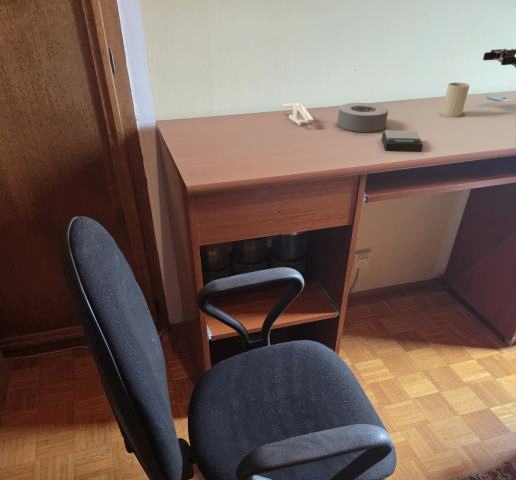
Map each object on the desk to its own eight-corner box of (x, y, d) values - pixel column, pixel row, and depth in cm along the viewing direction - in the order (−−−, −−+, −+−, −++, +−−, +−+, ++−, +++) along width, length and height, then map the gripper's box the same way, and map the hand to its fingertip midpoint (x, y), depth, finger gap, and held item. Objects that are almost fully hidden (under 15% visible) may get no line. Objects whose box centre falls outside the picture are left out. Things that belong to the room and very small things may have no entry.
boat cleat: (293, 112, 157) (294, 95, 154) (318, 128, 143) (319, 109, 140) (282, 113, 156) (283, 96, 153) (306, 129, 142) (308, 110, 139)
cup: (458, 111, 157) (466, 82, 151) (463, 117, 152) (471, 87, 146) (439, 111, 158) (446, 82, 152) (443, 116, 153) (451, 86, 147)
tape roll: (381, 119, 151) (384, 102, 147) (389, 133, 139) (392, 115, 136) (335, 118, 151) (337, 102, 148) (339, 132, 140) (341, 114, 137)
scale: (415, 140, 134) (417, 130, 132) (421, 151, 126) (423, 141, 124) (381, 139, 134) (383, 129, 133) (385, 150, 127) (387, 140, 125)
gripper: (520, 38, 154) (482, 41, 150) (553, 45, 144) (513, 48, 140) (512, 64, 159) (475, 67, 155) (544, 72, 149) (504, 76, 145)
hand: (493, 58), depth 147 cm, fingers open, 8 cm apart
